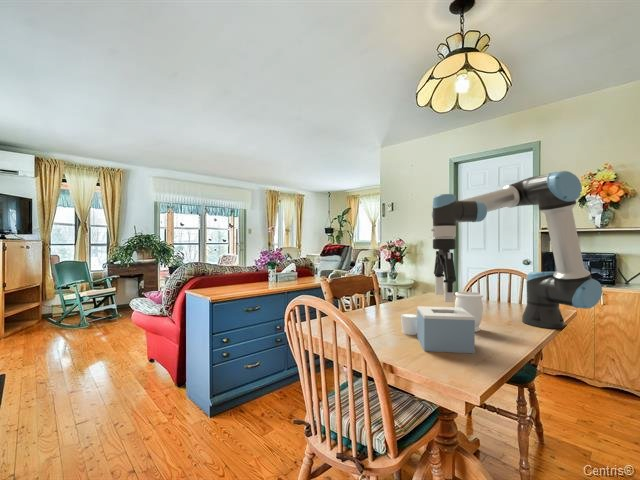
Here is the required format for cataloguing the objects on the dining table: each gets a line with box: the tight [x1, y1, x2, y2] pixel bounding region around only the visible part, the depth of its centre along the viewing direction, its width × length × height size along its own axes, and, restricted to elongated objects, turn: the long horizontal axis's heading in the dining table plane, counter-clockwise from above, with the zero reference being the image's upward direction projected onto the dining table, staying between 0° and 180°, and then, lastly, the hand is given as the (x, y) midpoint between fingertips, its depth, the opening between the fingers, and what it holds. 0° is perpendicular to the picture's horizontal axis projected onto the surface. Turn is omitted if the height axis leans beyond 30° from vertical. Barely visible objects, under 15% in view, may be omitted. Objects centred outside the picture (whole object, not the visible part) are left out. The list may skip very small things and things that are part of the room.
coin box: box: [416, 305, 476, 354], centre depth 110 cm, size 16×14×12 cm
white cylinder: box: [400, 313, 417, 336], centre depth 124 cm, size 7×7×7 cm
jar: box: [454, 291, 484, 333], centre depth 129 cm, size 11×10×15 cm
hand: (443, 298), depth 110 cm, fingers open, 13 cm apart
